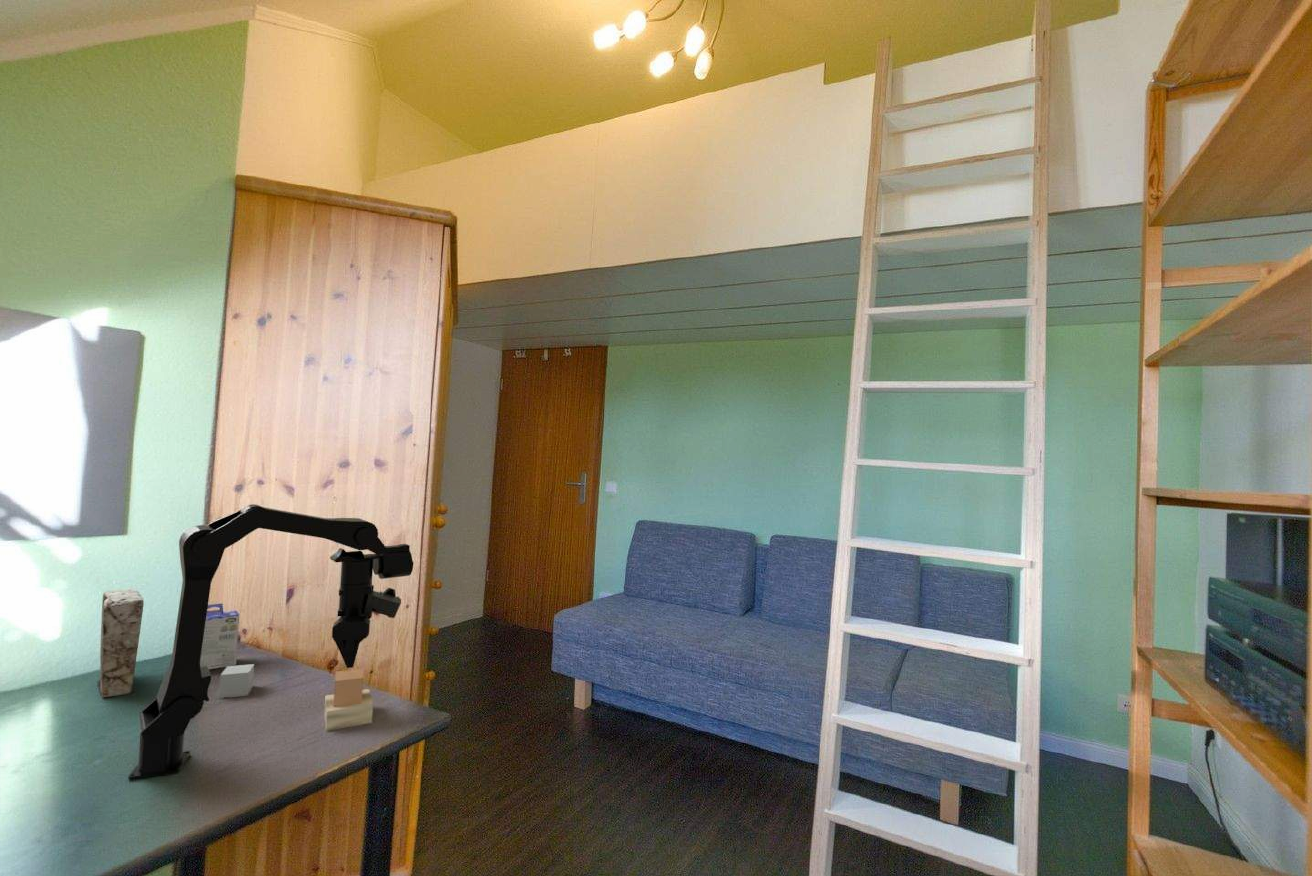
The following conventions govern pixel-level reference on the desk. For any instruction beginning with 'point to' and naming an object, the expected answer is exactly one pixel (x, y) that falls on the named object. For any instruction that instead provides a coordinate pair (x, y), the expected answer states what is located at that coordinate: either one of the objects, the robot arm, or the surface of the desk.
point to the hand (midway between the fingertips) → (352, 659)
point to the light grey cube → (236, 681)
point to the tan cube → (348, 687)
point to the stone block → (119, 640)
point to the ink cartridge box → (220, 638)
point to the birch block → (348, 712)
